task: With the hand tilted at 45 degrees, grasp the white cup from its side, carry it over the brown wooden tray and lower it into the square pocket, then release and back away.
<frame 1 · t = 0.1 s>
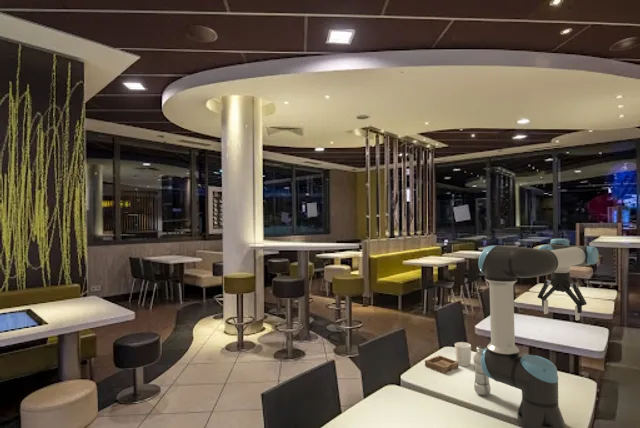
hand: (561, 316, 179), 28 cm above the table, tool pointing down, fingers open, 13 cm apart
brown wooden tray: (441, 367, 193), on the table
plastic bottle: (482, 394, 164), on the table
white cup: (463, 364, 197), on the table
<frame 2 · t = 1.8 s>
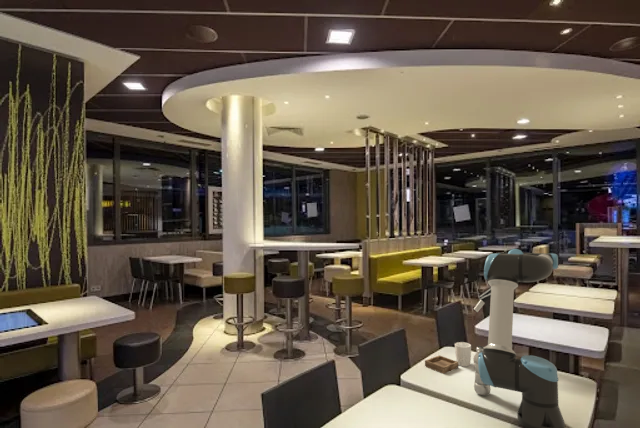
hand: (483, 314, 198), 25 cm above the table, tool tilted 45°, fingers open, 13 cm apart
nothing on the table moved.
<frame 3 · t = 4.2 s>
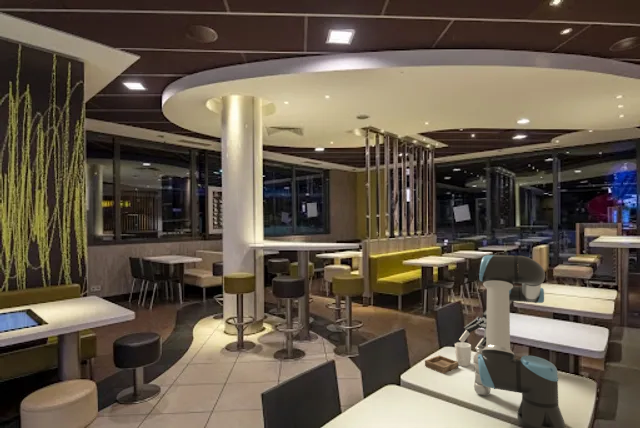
hand: (468, 345, 198), 9 cm above the table, tool tilted 45°, fingers open, 13 cm apart
nothing on the table moved.
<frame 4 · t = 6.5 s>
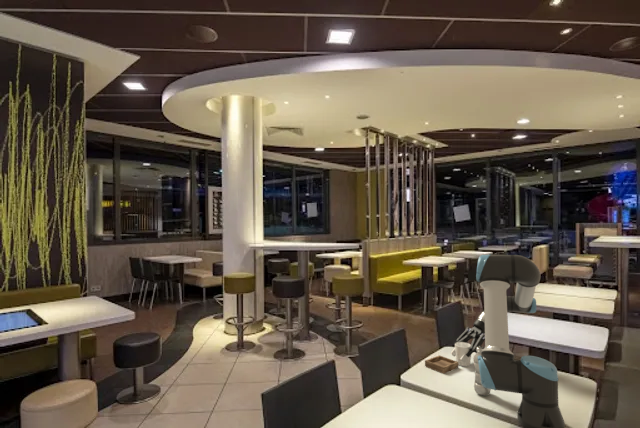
hand: (457, 357, 196), 4 cm above the table, tool tilted 45°, fingers closed on white cup, 8 cm apart
white cup: (463, 364, 197), on the table, touching gripper
everything else where it was.
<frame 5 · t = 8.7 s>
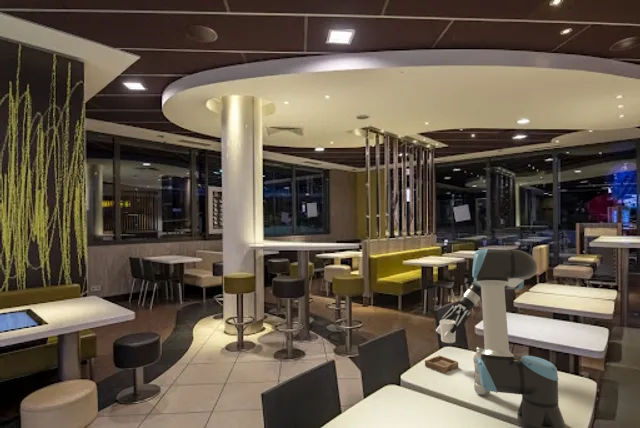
hand: (441, 334, 194), 16 cm above the table, tool tilted 45°, fingers closed on white cup, 8 cm apart
white cup: (448, 341, 195), point 12 cm above the table, touching gripper
everything else where it was.
when the fingers open (7 cm above the table, at t = 11.3 s): white cup drops 2 cm, resting on brown wooden tray.
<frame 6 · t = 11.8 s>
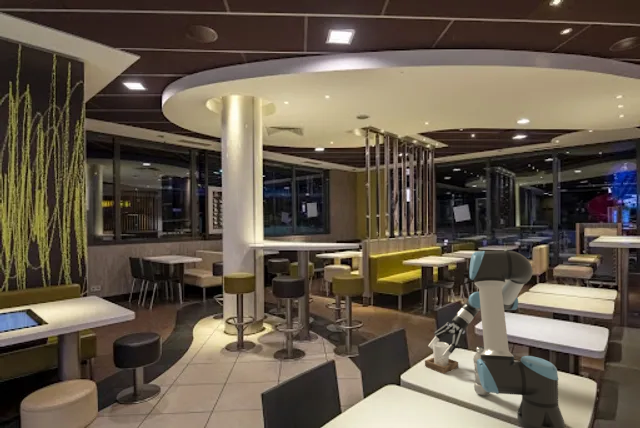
hand: (437, 352, 193), 8 cm above the table, tool tilted 45°, fingers open, 13 cm apart
white cup: (441, 364, 193), point 1 cm above the table, touching brown wooden tray
everything else where it was.
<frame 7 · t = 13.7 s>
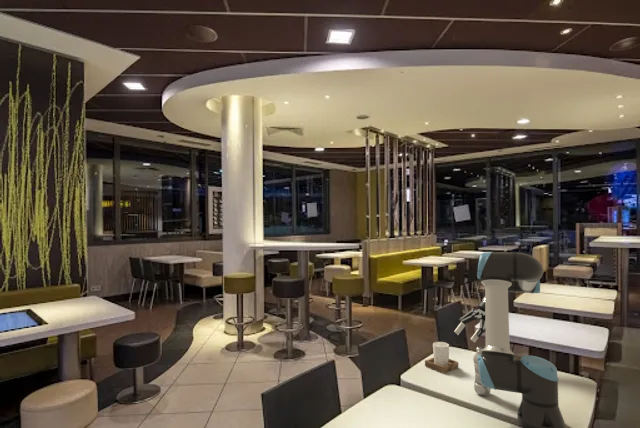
hand: (464, 336, 196), 14 cm above the table, tool tilted 45°, fingers open, 13 cm apart
nothing on the table moved.
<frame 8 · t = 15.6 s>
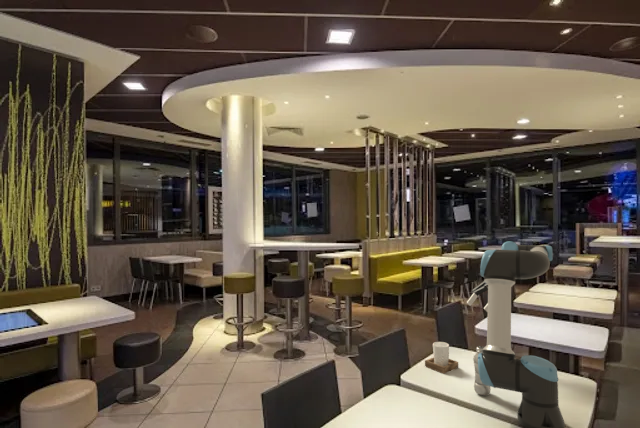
hand: (476, 307, 194), 30 cm above the table, tool tilted 45°, fingers open, 13 cm apart
nothing on the table moved.
at the end: white cup 0.2 cm off-centre on the brown wooden tray, point 1.3 cm above the brown wooden tray's base; white cup tilted 0°; the gripper is holding nothing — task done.
